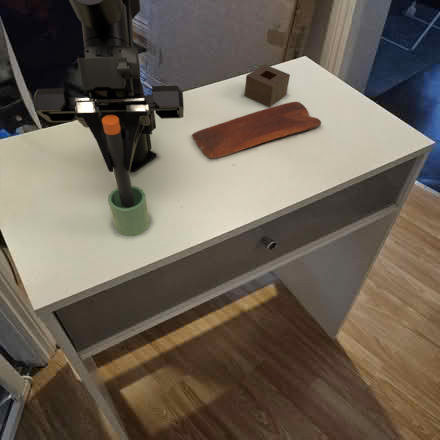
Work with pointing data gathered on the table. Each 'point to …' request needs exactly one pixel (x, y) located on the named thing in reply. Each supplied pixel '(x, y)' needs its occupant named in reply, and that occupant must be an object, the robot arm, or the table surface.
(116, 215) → the pen cup
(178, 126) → the table surface
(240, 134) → the wooden tablet
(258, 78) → the pen stand
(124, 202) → the stylus
